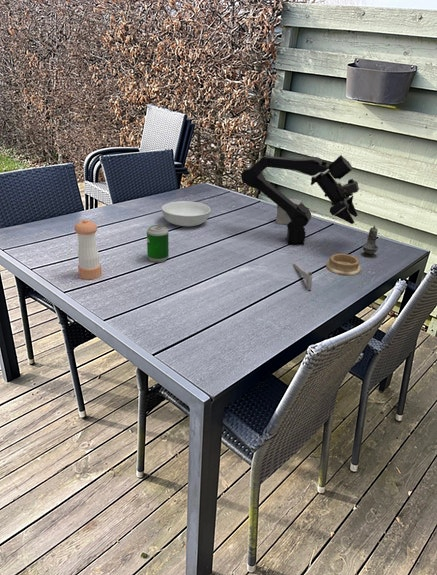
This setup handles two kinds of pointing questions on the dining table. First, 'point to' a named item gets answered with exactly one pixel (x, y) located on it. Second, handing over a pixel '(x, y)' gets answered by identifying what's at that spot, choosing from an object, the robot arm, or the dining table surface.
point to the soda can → (157, 243)
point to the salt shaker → (370, 244)
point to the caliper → (305, 275)
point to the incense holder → (284, 213)
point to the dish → (343, 264)
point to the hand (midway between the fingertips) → (355, 219)
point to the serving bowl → (186, 213)
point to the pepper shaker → (87, 250)
